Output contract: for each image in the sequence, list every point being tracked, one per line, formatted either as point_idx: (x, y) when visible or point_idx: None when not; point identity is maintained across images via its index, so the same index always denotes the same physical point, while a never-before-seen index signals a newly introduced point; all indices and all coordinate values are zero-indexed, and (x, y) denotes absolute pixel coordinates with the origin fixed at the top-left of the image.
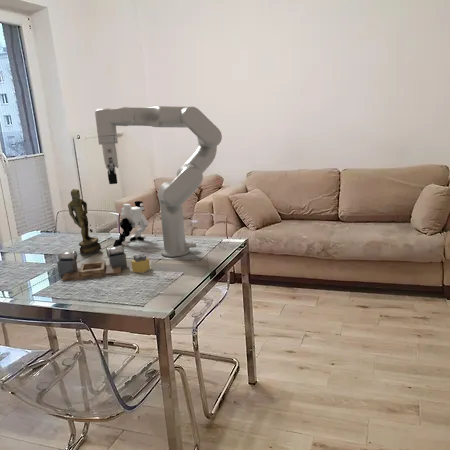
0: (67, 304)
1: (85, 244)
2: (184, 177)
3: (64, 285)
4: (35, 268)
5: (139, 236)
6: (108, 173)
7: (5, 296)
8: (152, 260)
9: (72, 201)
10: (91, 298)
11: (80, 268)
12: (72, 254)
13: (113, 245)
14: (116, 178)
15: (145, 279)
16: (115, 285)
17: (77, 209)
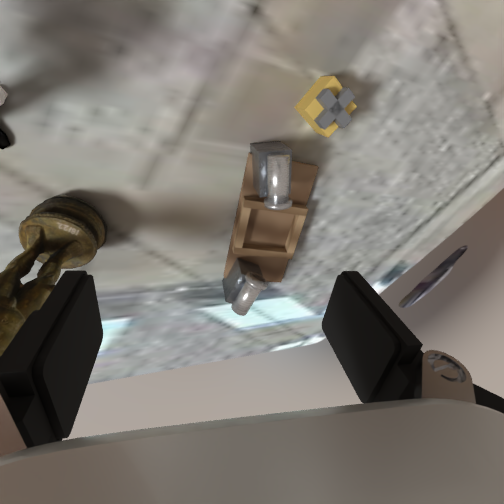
0: (396, 266)
1: (94, 251)
2: None
3: (306, 274)
4: (164, 330)
5: None
6: (76, 413)
7: (297, 346)
8: (252, 43)
9: None
10: (402, 232)
11: (269, 256)
12: (266, 287)
13: (4, 147)
14: (381, 304)
15: (390, 112)
16: (375, 186)
17: None
